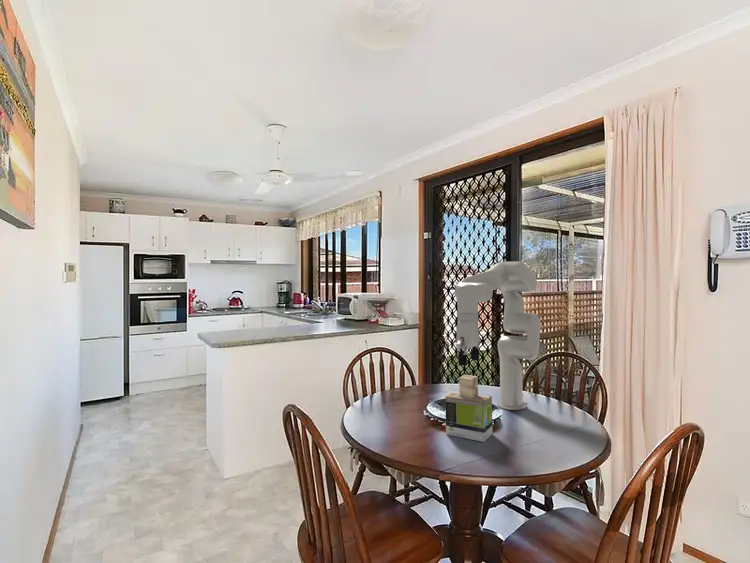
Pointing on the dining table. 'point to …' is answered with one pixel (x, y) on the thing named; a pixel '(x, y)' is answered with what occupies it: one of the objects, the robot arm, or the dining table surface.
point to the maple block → (468, 386)
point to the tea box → (469, 416)
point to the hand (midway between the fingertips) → (469, 362)
